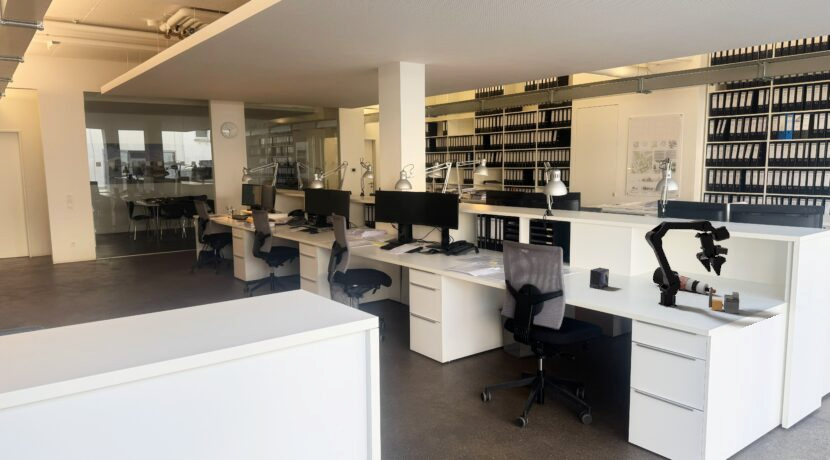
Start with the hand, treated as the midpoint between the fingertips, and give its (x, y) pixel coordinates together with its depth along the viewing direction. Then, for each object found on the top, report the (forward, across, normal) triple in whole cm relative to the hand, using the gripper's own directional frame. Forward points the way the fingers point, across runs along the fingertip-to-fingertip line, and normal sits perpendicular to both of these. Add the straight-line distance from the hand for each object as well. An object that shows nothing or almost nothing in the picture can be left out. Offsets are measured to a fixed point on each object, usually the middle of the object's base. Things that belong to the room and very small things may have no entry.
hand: (714, 273), depth 282 cm
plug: (+15, -9, +6) cm, 19 cm away
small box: (+4, +41, +48) cm, 63 cm away
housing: (+16, -11, +1) cm, 20 cm away
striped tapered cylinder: (+16, +32, +4) cm, 36 cm away
